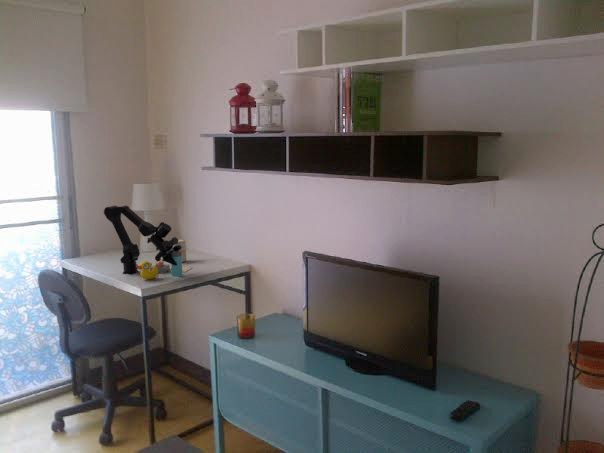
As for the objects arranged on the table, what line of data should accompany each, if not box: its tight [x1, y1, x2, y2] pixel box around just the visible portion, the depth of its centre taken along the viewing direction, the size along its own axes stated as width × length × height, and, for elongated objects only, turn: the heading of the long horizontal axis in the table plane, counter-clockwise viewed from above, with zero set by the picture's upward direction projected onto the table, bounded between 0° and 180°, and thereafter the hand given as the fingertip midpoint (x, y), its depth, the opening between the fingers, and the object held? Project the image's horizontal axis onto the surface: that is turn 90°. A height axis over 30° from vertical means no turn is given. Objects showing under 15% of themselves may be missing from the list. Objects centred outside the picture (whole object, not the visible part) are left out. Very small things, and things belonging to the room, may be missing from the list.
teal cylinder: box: [170, 252, 183, 278], centre depth 299 cm, size 4×4×13 cm
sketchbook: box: [167, 266, 193, 273], centre depth 313 cm, size 11×10×1 cm
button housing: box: [149, 263, 171, 274], centre depth 311 cm, size 8×8×3 cm
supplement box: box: [173, 239, 187, 263], centre depth 331 cm, size 8×5×13 cm, turn 145°
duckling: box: [136, 260, 159, 281], centre depth 293 cm, size 11×5×10 cm, turn 123°
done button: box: [155, 260, 165, 267], centre depth 311 cm, size 4×4×3 cm
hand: (178, 264), depth 298 cm, fingers closed on teal cylinder, 4 cm apart
